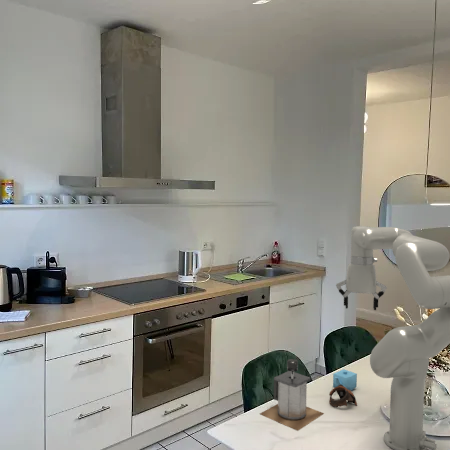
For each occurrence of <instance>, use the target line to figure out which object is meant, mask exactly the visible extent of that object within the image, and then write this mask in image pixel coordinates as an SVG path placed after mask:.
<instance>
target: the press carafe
mask: <svg viewBox="0 0 450 450" xmlns="http://www.w3.org/2000/svg"><path fill="white" fill-rule="evenodd" d="M309 381H311V377H309V376H306V375H304V374H301V373H298V372H296V371H295V372H294V377H293V379H291V371H288V370H287V371H285V372H284V373H281V374H279V375H276V376H274V377H273V400H274V401H277V404H278V415H279V416H280V417H281V418H283V419H285V420H290V421H298V420H302V419H304V418H305V417H306V407H307V392H308V391H307V382H309Z"/></svg>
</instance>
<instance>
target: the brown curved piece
mask: <svg viewBox="0 0 450 450" xmlns="http://www.w3.org/2000/svg"><path fill="white" fill-rule="evenodd" d="M334 393H336V394H337V395H338V398H339V399H334V398H333V397H332V396H333V395H334ZM328 395H329V399H328V401H329V404H330V406H332V407H334V408H340V407H348V403H349V404H354V405H355V406H356V407H357V406H358V403H357V398H356V396H355V394H354V392H353V391H352V390H348V389H347V388H345V387H344V386H343V385H342V384H340V385H338V387H335V388H334V387H333V388H332V389H331V390H330V392H329V394H328Z"/></svg>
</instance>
